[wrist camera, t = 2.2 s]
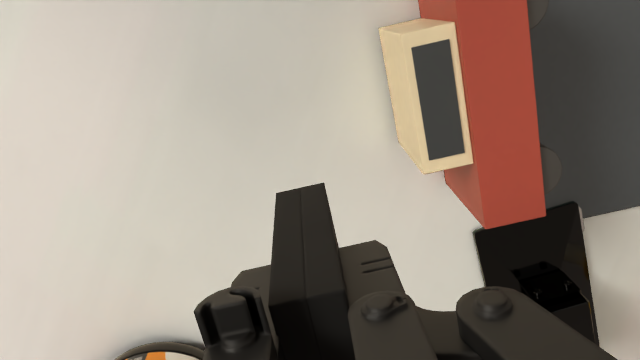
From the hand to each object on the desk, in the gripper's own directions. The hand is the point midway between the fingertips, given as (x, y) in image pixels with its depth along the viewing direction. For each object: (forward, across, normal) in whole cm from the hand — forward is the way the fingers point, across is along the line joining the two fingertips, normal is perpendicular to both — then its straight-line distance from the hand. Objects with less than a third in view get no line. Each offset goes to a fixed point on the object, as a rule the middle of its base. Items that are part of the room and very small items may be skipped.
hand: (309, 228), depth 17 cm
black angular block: (+17, +14, -16) cm, 27 cm away
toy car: (+17, +9, 0) cm, 20 cm away
